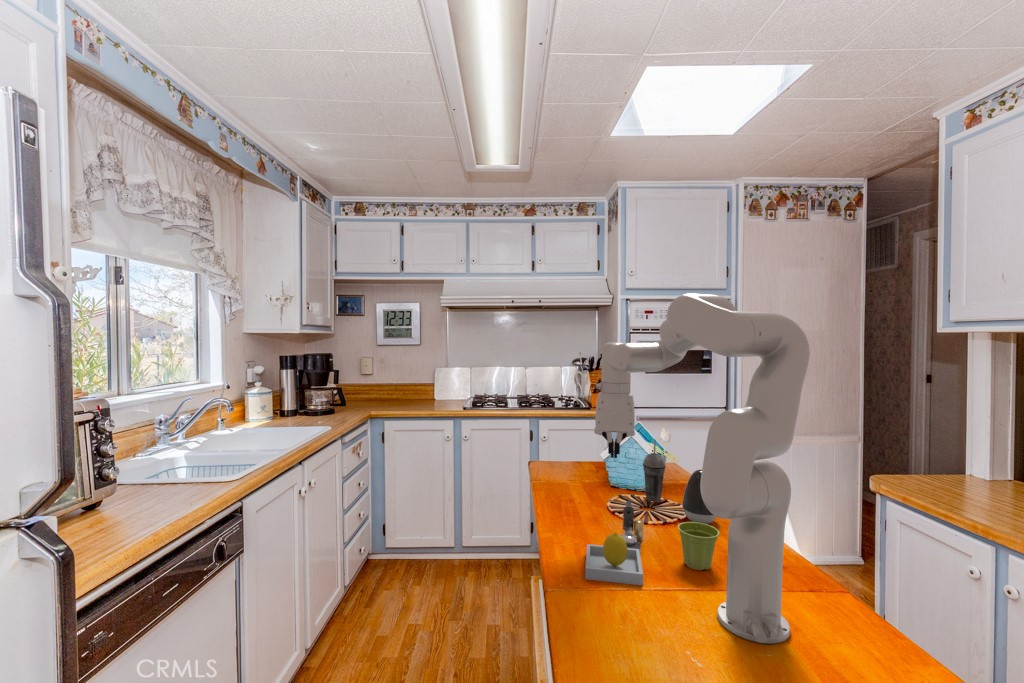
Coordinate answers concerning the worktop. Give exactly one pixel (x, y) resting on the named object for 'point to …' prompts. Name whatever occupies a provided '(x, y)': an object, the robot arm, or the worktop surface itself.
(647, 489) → the beverage cup
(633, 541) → the crank handle
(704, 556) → the plant pot
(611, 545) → the lemon
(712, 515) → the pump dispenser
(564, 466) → the worktop surface
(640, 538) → the crank base
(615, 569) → the tray
